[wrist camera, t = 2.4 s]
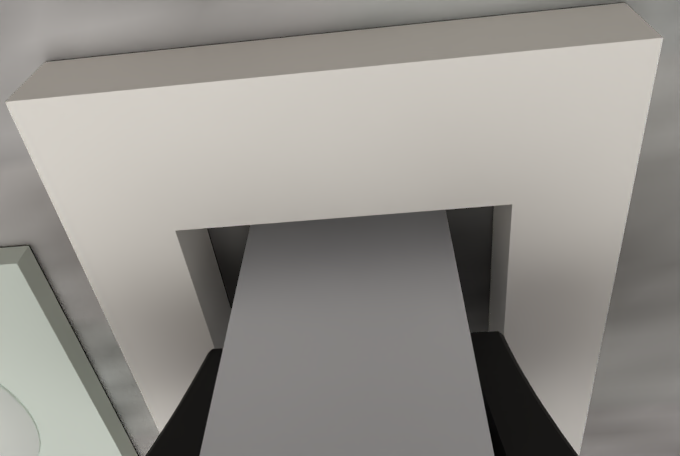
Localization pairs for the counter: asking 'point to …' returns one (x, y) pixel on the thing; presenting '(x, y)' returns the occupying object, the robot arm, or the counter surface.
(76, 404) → the pad
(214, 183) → the power strip
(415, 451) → the block
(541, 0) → the counter surface
